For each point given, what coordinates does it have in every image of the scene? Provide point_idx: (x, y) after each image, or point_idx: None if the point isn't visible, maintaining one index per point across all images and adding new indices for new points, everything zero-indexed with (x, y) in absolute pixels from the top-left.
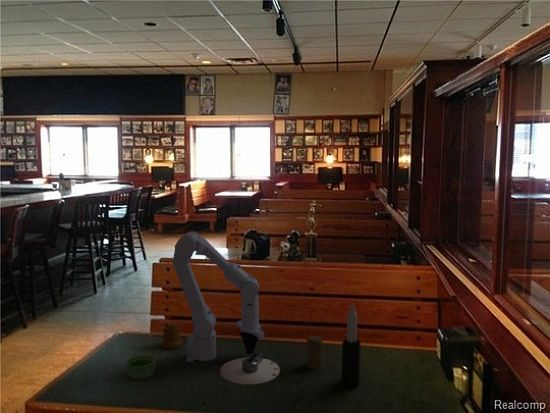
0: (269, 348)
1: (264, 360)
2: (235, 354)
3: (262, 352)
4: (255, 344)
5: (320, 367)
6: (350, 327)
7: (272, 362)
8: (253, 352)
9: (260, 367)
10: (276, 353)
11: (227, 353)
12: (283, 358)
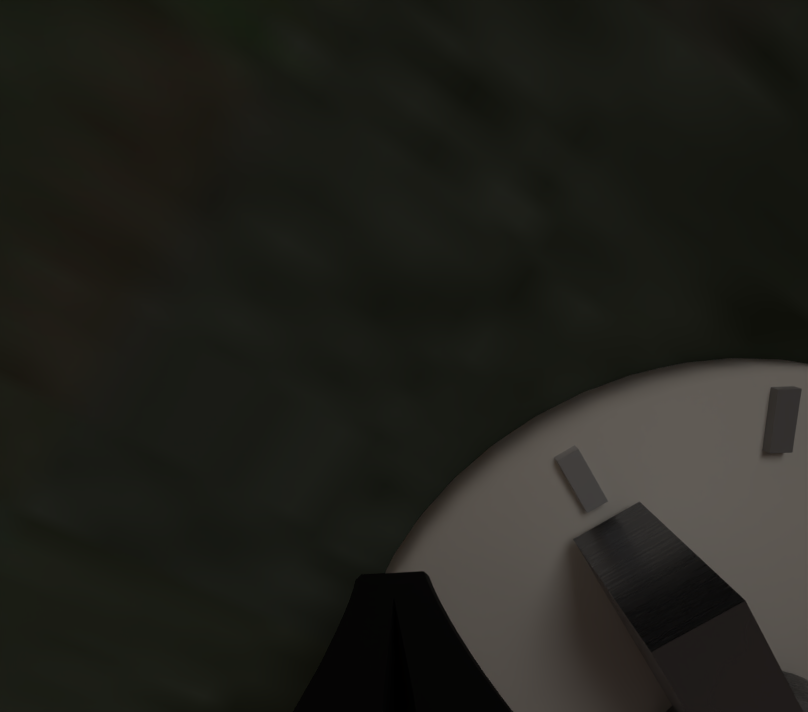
0: (111, 24)
1: (629, 463)
2: (86, 601)
3: (739, 601)
4: (503, 710)
5: None
6: None
7: (787, 413)
8: (432, 587)
9: (772, 617)
10: (367, 47)
11: (4, 672)
12: (595, 68)
